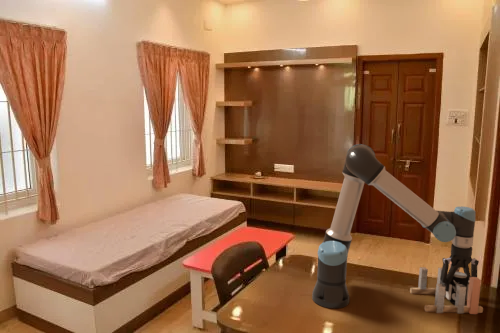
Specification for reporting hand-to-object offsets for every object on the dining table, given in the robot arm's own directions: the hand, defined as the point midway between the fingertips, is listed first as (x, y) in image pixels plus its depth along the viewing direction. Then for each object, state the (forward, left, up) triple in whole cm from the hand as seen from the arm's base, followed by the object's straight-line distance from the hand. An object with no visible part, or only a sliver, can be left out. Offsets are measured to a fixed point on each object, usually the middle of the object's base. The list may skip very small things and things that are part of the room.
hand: (456, 298), depth 161 cm
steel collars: (-7, 0, -2) cm, 7 cm away
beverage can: (0, 0, -2) cm, 2 cm away
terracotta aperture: (+2, 0, -2) cm, 3 cm away
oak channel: (-5, 0, -2) cm, 5 cm away
